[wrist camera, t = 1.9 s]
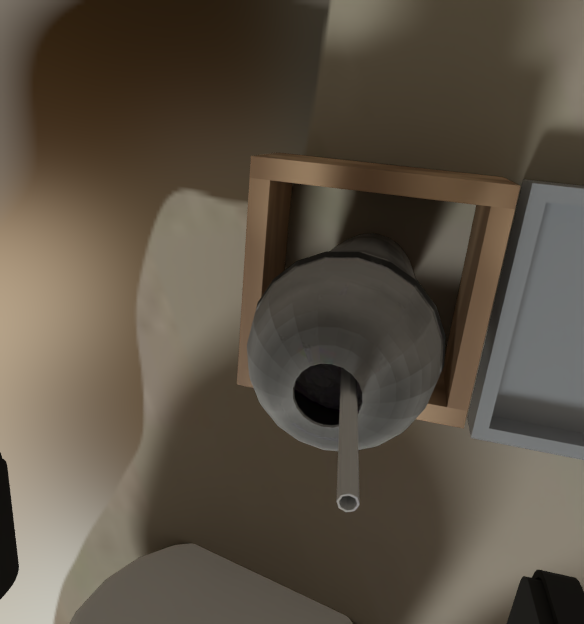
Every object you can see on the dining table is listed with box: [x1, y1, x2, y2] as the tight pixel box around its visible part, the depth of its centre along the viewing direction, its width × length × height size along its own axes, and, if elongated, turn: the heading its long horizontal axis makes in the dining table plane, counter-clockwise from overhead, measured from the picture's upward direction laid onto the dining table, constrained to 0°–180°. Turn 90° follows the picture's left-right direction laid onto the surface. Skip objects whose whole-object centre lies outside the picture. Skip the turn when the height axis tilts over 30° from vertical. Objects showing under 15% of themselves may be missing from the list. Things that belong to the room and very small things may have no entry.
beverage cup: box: [247, 234, 446, 512], centre depth 21 cm, size 7×7×20 cm
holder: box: [237, 153, 520, 428], centre depth 28 cm, size 12×12×5 cm
